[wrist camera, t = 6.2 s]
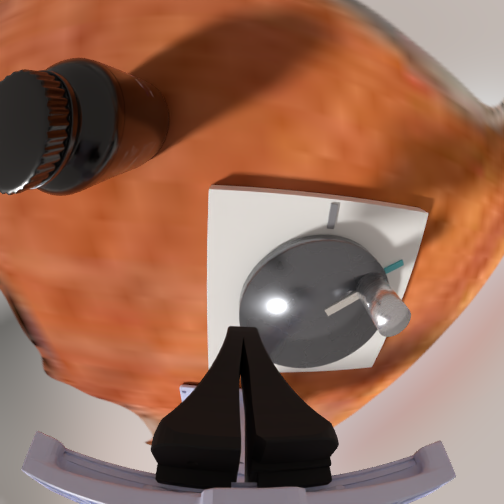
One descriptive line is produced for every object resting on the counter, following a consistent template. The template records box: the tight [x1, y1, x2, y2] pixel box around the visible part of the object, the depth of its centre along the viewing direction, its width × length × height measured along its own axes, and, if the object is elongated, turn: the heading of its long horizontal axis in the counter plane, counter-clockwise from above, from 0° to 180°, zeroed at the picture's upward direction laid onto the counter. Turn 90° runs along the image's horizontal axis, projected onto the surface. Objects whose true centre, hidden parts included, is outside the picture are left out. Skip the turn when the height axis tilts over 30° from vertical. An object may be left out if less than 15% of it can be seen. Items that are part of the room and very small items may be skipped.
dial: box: [239, 235, 411, 368], centre depth 19 cm, size 12×12×6 cm
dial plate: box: [207, 185, 429, 372], centre depth 22 cm, size 17×17×2 cm
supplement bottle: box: [0, 58, 169, 196], centre depth 11 cm, size 7×7×12 cm
